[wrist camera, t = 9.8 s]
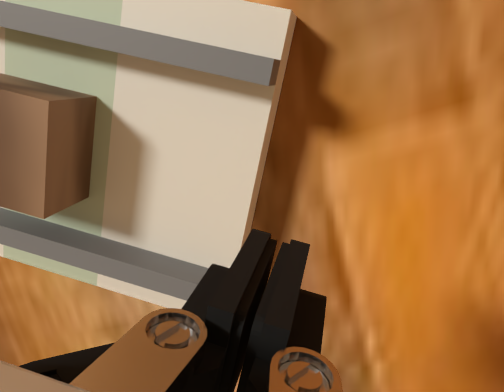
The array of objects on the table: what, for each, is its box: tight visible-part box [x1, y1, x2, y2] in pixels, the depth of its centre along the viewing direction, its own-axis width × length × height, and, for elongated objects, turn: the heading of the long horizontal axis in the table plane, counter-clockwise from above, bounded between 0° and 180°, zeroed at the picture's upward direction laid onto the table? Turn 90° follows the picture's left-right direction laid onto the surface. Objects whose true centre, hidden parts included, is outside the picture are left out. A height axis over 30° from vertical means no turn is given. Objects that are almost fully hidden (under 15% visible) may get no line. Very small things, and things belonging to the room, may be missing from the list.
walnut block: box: [0, 73, 97, 219], centre depth 23 cm, size 6×6×4 cm
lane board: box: [0, 0, 297, 309], centre depth 24 cm, size 27×18×6 cm, turn 78°
